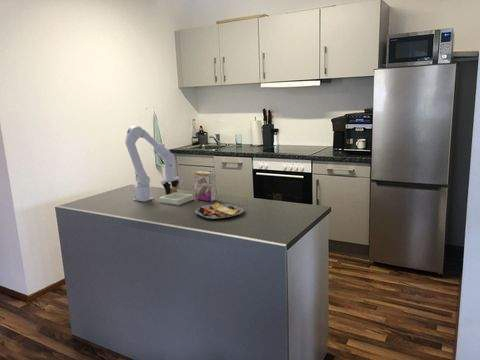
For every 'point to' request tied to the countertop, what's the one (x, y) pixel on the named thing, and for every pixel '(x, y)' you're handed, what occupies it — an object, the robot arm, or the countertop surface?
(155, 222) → the countertop surface
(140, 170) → the robot arm
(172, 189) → the walnut block
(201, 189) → the candy bar box
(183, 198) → the pale green tray
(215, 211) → the food plate
